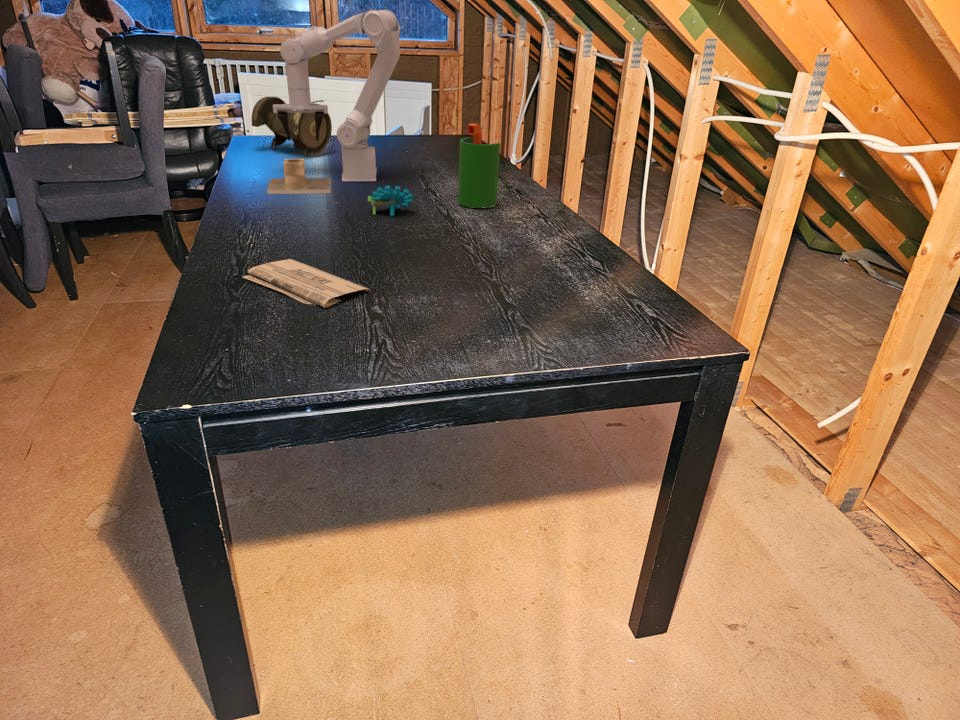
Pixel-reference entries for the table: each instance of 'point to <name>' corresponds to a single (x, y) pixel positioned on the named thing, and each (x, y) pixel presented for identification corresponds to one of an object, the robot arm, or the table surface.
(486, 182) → the green cylindrical container
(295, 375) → the table surface
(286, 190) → the base plate
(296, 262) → the newspaper
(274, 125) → the bench grinder
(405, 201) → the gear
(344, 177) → the robot arm
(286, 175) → the hollow square block
